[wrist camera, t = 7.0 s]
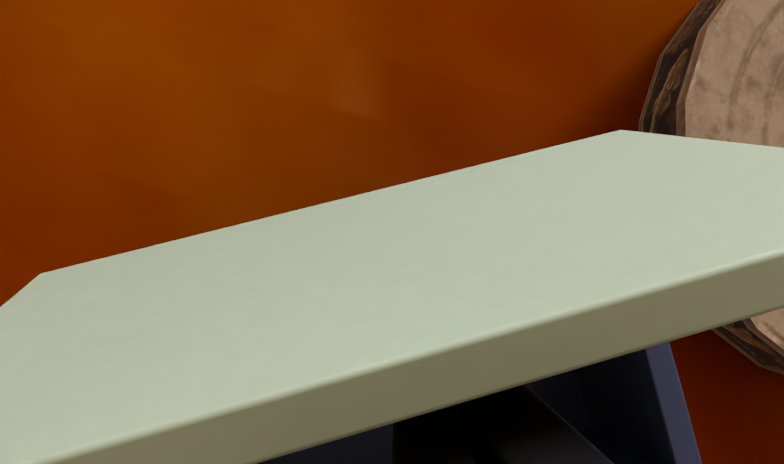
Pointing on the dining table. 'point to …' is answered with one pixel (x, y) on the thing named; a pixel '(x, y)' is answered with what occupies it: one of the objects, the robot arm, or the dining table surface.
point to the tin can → (727, 111)
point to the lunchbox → (577, 415)
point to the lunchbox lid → (389, 302)
